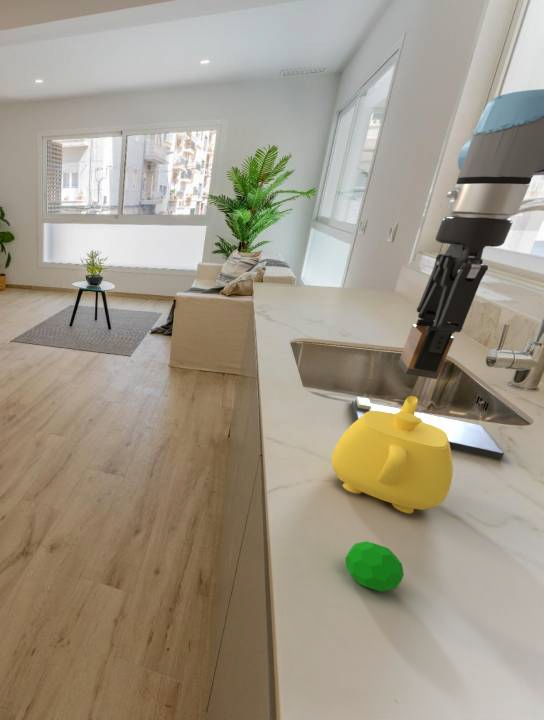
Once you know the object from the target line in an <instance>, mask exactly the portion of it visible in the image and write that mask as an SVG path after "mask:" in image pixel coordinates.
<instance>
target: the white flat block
mask: <svg viewBox="0 0 544 720" xmlns="http://www.w3.org/2000/svg"><path fill="white" fill-rule="evenodd" d="M355 400H356V401H357V405H358V408H363V409H368V410H370V409H371V404H370V403H371V402H370V399H369V398H367V397H366V398H365V397H361V396H357V397H356V399H355Z"/></svg>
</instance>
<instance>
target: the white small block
mask: <svg viewBox="0 0 544 720" xmlns="http://www.w3.org/2000/svg"><path fill="white" fill-rule="evenodd" d="M419 418H420V419H421V421H422V422H425V423H428V424H431V425H433V426H436V427H438V426H437V425H436V423H435V422H434V420H433V419H429V418H424V417H419Z"/></svg>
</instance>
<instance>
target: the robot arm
mask: <svg viewBox="0 0 544 720" xmlns="http://www.w3.org/2000/svg"><path fill="white" fill-rule="evenodd" d="M457 166H458V170H459V174H458V176H457V180H456V183H455V186H454V188H453V190H450V191H449V192H447V194H446V198H447V199H450V200H449V202H448V205H447V208H446V209H445V211H446V212H447V213H448V214H449V216H445V217H444V218H442V219H441V221H440V225H439V228H438V230H437V234H436V236H435V241H436V242H437V243H440V244H445V245H446V244H447V245H449V246H448V247H447V250H446V251H445V253H438V254H437V255H436V256H435V262H434V265H433V268H432V272H431V274H430V275H429V278H428V281H427V283H426V286H425V288H424V291H423V293H422V296H421V299H420V300H419V303H418V306H417V308H416V313H418V314H417V318H418V319H417V321H416V323H415V325H420V326H426V330H428V332H427V335H426V337H425V340H424V343H423V345H422V348H421V350H420V353H419V355H418V358H417V360H416V363H415V365H414V368H415V369H420V370H426V371H432V372H437V369H438V367H439V364H440V362H441V360H442V357H443V355H444V352H445V350H446V348H447V345H448V343H449V341H450V338H451V336H452V337H453V334H455V333H461V332H462V330H463V327H464V324H465V322H466V319H467V316H468V314H469V312H470V309H471V306H472V304H473V301H474V299H475V296H476V294H477V291H478V288H479V286H480V284H481V282H482V280H483V278H484V276H485V274H486V272H487V271H488V269H489V265H488V264H487V263H486V264H485V263H483V259H482V257H483V252H484V249H485V248H486V247H492V248H494V247H495V248H497V247H500V246H503V245H504V244H505V242H506V239H507V237H508V235H509V232H510V230H511V228H512V225H513V224H514V223H513V222H512V221H513V220H512V219H510V217H511V216H515V215H517V214H518V213H519V211H520V208H521V207H522V204H523V203H524V199H525V197H526V195H527V192H528V190H529V187H530V184H531V182H532V179H533V177H534V176H544V88H541V89H540V88H539V89H528V90H527V89H526V90H520V91H519V90H518V91H514V92H509V93H505V94H500V95H498V96H496V97H494V98H492V99H491V100H490V101H489V102H487V104H486V105H485V107H484V109H483V112H482V113H481V115H480V117H479V120H478V122H477V124H476V127H475V129H474V131H473V132H472V137H470V139H468V140H467V142H465V144H464V145H463V146H462V148H461V149H460V151H459V154H458V158H457Z"/></svg>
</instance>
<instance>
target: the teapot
mask: <svg viewBox="0 0 544 720" xmlns="http://www.w3.org/2000/svg"><path fill="white" fill-rule="evenodd" d="M418 399H419V398H417V396H415V395H409V396H407V398H406V399H405V401H404V402H403V404H402V406H401V408H400V409H401V410H400V411H399V412H397V413H395V414H393V413H388V412H383V411H374V410H372V411H368V412H366V413H365V414H364V415H362V416H361V417H360V418H359V419H358V420H357V421H355V420H354V422H353V423H351V425H350V426H349V427H348V428H347V429H346V430H345V431H344V432H343V434H341V437H340V438H339V439H338V441H337V443H336V445H335V446H334V449H333V452H332V453H331V454H332V455H331V466H332V468H333V471H334V473H335V475H336V477H337V478H338V479H339V480H340V481H342V482H343V484H342V487H343V488H344V490H346V491H348V492H350V493H353V494H356V495H357V494H362V493H363V494H366V495H369V496H371V497H373V498H375V499H378V500H382V501H384V502H387V503H391V505H392V506H393V508H394V509H396V510H398V511H399V512H402V513H405V514H413V513H414V512H415V510H420V511H421V510H428V509H432V508H434V507H436V506H438V505H440V504H442V503H443V502H444V501H445V499H446V498H447V497H448V494H449V491H450V488H451V485H452V481H453V474H454V473H453V472H454V464H453V457H452V455H453V454H452V449H450V444H449V440H448V436H447V434H446V433H445V432H444V431H443V430H442V429H440V428H438V427H436V426H433V425H431V424H428V423H425V422H422V421H421V419H420V418H418V417H417V416H415V412H416V410H417V406H418V402H419V400H418Z"/></svg>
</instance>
